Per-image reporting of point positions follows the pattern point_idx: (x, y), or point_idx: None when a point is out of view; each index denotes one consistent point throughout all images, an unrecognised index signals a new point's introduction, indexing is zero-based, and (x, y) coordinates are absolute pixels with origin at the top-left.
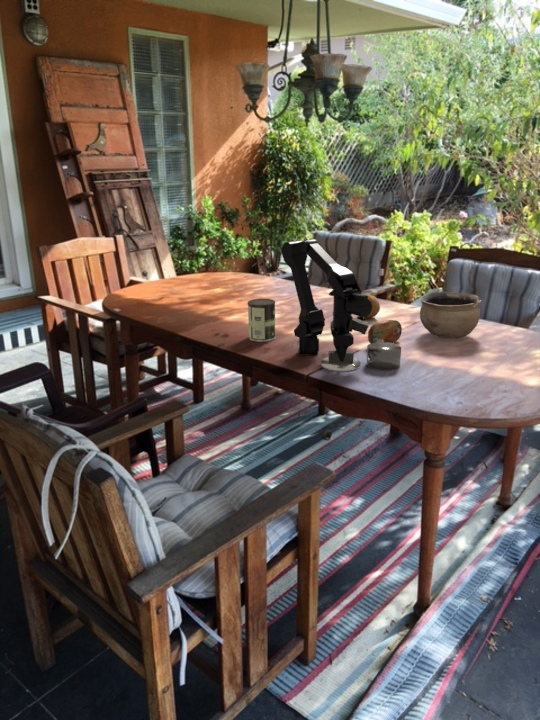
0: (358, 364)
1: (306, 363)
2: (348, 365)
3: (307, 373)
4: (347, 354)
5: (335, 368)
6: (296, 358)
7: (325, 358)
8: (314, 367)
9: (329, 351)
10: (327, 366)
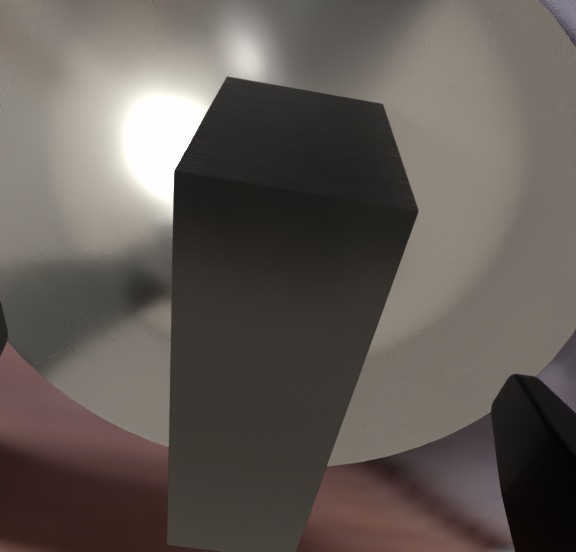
0: (485, 2)
1: None
2: (464, 217)
3: (460, 546)
4: (364, 325)
5: None
6: (71, 539)
7: (110, 410)
8: (324, 491)
9: (199, 542)
10: (405, 445)
